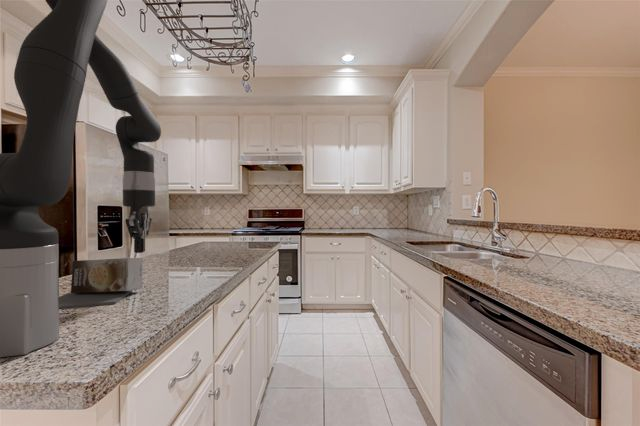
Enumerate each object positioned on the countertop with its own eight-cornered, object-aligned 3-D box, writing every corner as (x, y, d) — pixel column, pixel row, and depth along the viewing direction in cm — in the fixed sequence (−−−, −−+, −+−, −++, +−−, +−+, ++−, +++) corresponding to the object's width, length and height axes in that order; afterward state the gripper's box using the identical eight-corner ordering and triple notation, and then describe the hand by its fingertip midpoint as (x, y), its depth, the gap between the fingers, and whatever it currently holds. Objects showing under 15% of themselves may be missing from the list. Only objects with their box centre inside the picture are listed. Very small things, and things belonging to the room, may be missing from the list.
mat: (115, 303, 71) (115, 301, 71) (36, 310, 67) (36, 307, 67) (132, 291, 83) (132, 288, 83) (66, 295, 78) (66, 293, 78)
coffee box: (126, 291, 76) (69, 295, 77) (142, 288, 82) (90, 291, 83) (127, 257, 77) (71, 260, 78) (143, 256, 83) (91, 260, 84)
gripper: (146, 187, 72) (147, 255, 72) (161, 191, 85) (161, 248, 85) (112, 187, 70) (113, 256, 70) (132, 190, 83) (133, 249, 83)
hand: (139, 252), depth 78 cm, fingers closed
